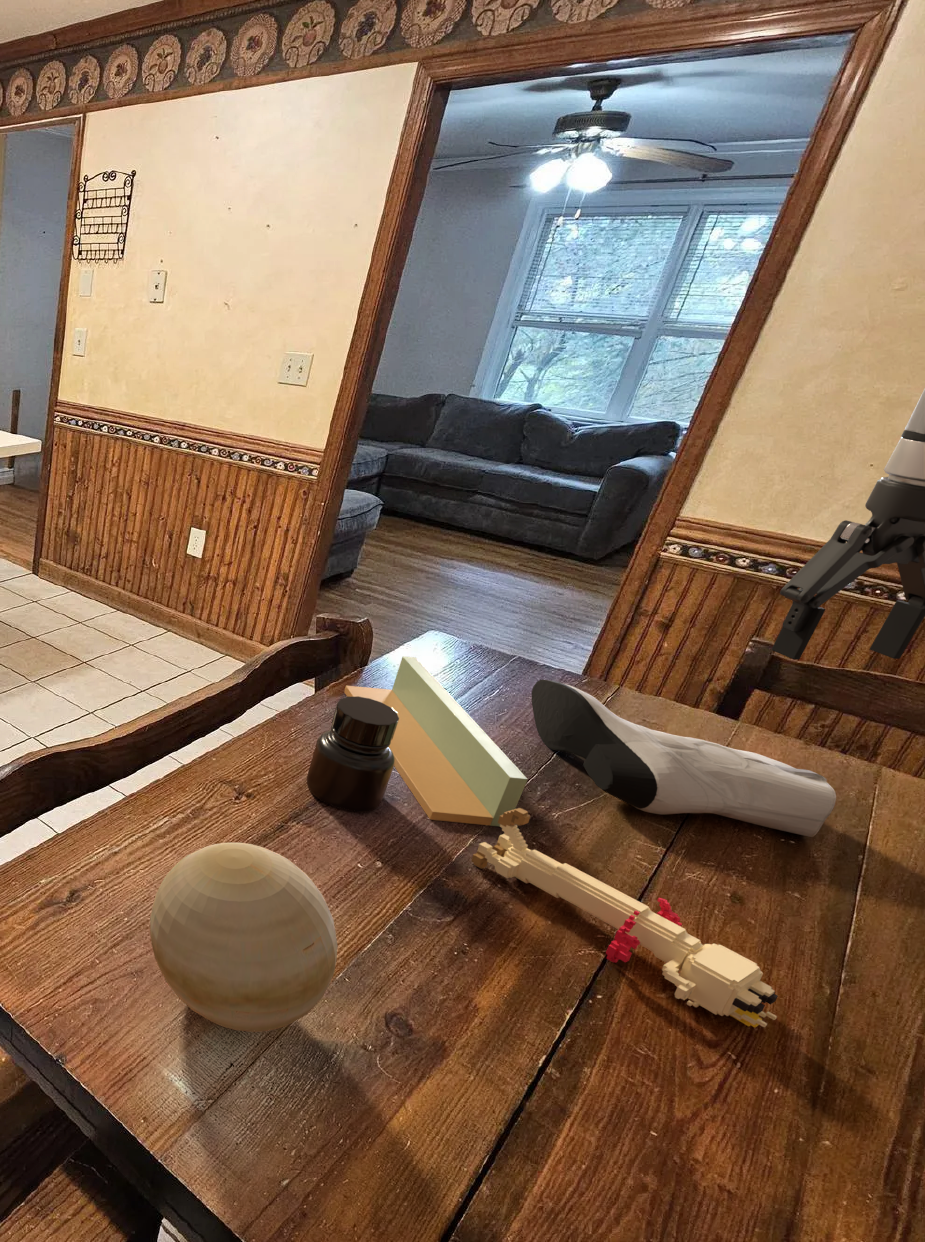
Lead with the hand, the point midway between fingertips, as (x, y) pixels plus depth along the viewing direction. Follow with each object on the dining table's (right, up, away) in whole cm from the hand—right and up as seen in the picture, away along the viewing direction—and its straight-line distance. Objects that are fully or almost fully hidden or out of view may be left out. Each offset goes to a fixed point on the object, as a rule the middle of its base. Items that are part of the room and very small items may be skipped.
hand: (834, 654), depth 96 cm
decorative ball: (-83, -30, -26) cm, 92 cm away
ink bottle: (-59, -18, +3) cm, 61 cm away
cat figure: (-42, -28, -17) cm, 53 cm away
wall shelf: (-44, -13, +13) cm, 48 cm away
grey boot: (-13, -16, +11) cm, 23 cm away
